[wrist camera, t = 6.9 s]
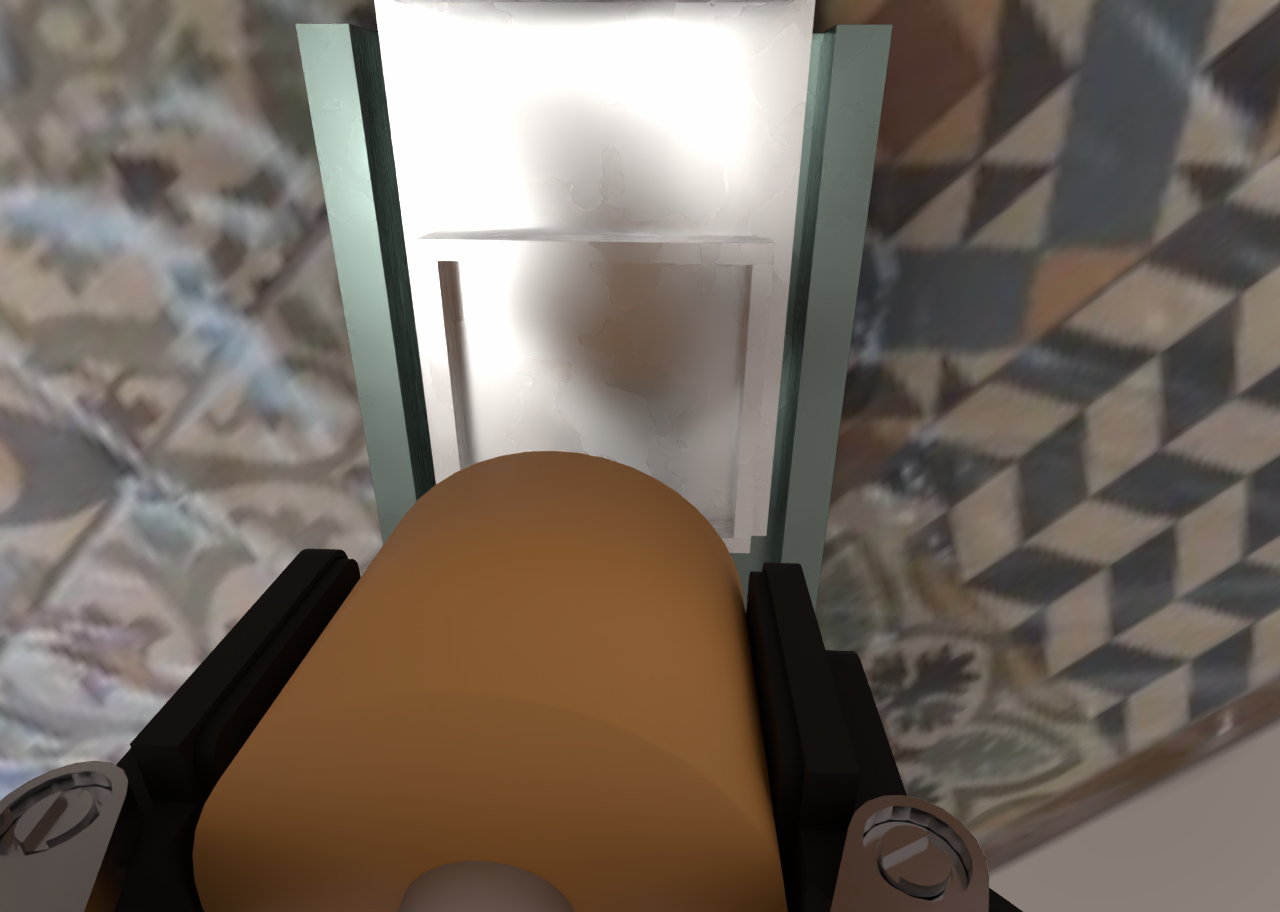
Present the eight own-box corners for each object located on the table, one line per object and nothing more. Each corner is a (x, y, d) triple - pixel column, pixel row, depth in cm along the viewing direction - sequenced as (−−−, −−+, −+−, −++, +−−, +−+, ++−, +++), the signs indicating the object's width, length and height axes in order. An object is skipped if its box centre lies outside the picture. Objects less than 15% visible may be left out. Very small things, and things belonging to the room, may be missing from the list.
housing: (352, 445, 11) (-42, 834, 5) (758, 456, 11) (861, 876, 5) (404, 745, 13) (185, 1242, 7) (733, 759, 13) (780, 1286, 7)
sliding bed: (380, -68, 17) (273, -136, 12) (814, -69, 17) (868, -139, 12) (450, 512, 23) (397, 606, 19) (762, 519, 23) (785, 617, 18)
